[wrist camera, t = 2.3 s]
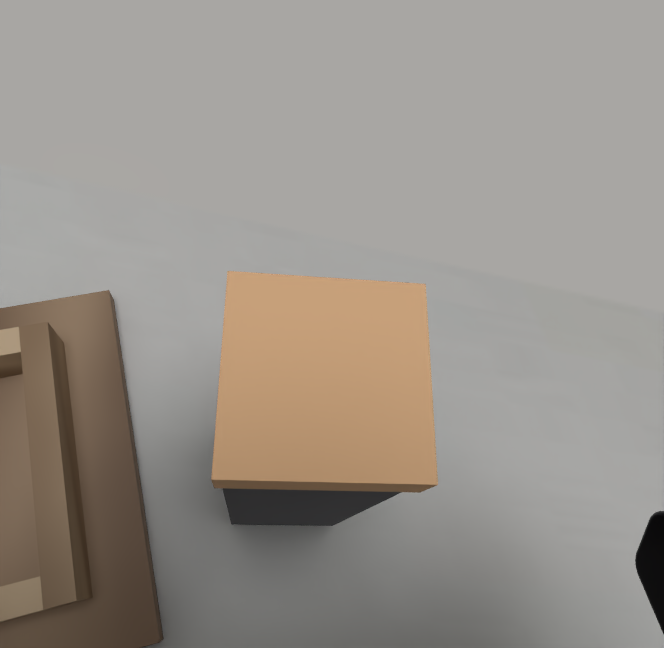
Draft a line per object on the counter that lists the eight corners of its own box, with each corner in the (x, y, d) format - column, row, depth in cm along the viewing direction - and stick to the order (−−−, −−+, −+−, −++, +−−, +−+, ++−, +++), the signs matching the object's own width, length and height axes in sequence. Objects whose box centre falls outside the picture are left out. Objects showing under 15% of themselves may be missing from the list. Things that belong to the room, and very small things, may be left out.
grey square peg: (335, 528, 19) (438, 484, 9) (228, 527, 19) (211, 480, 9) (335, 423, 21) (425, 284, 10) (235, 420, 20) (227, 270, 10)
